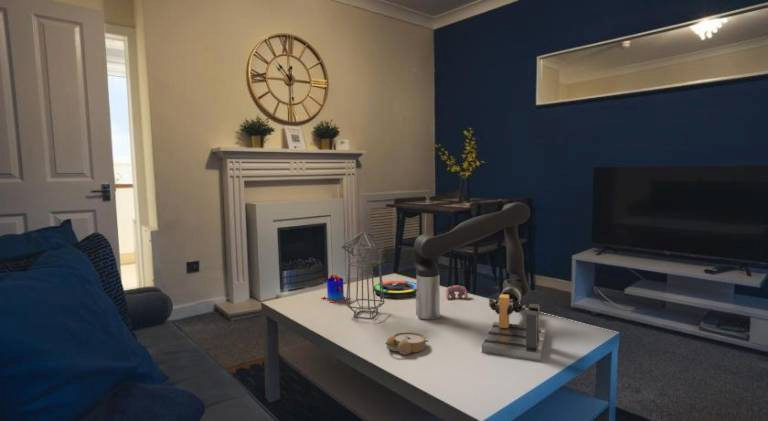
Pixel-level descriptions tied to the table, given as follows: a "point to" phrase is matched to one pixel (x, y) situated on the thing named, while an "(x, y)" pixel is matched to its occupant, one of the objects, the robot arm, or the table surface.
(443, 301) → the table surface
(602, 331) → the table surface
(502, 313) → the orange rectangular block
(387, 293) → the electronic game
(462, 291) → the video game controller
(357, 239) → the geometric lantern
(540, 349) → the grey slotted base
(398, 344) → the alarm clock
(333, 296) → the fantasy tower
